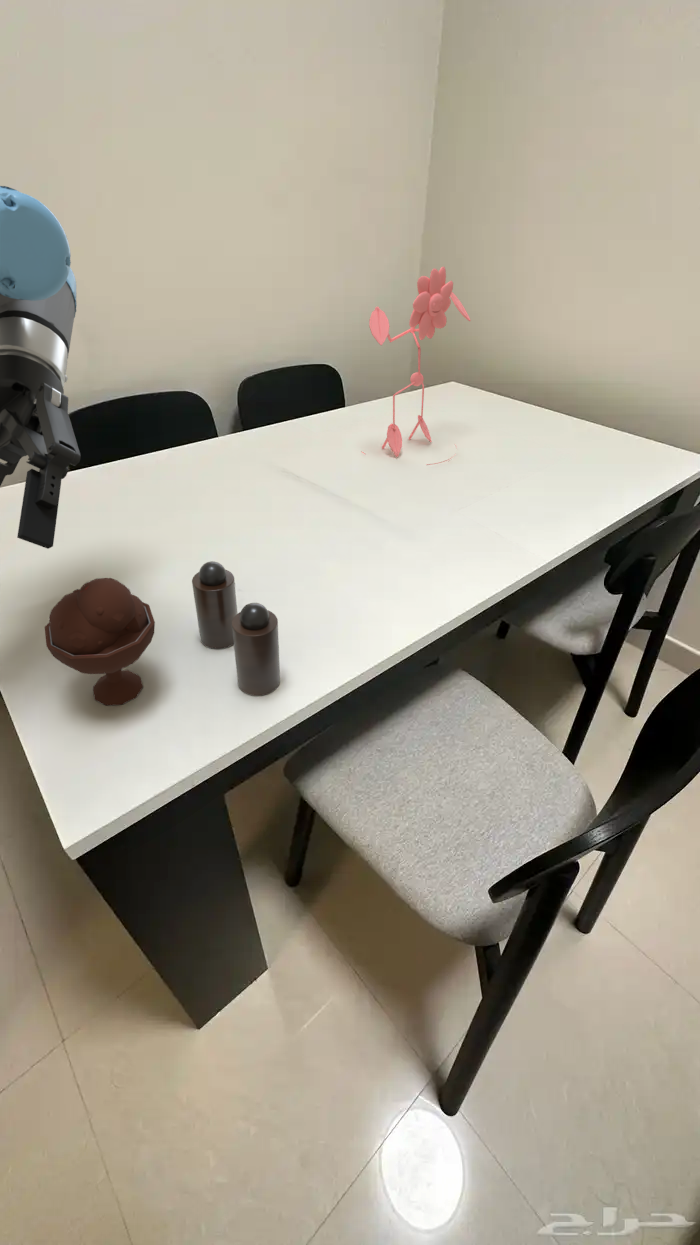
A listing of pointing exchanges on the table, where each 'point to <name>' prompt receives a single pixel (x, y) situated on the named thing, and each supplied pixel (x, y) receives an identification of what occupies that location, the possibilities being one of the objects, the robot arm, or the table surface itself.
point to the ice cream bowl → (102, 636)
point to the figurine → (428, 316)
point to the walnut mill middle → (215, 604)
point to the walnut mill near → (256, 649)
